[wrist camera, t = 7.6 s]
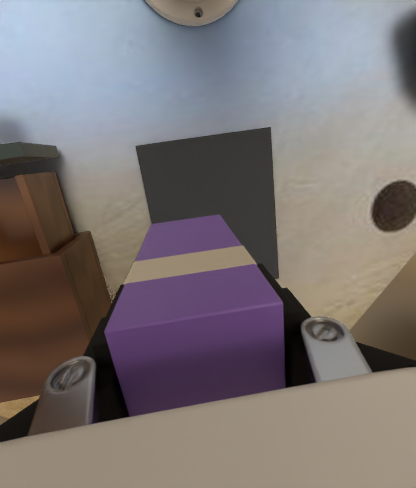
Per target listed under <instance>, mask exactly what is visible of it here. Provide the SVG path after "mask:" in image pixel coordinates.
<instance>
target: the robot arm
mask: <svg viewBox="0 0 416 488" xmlns="http://www.w3.org/2000/svg"><path fill="white" fill-rule="evenodd" d="M145 1H146V2H147V3H148V4H149V5H150V6H151V7H152V8H153V9H154V10H155V11H156V12H157V13H158V14H160V15H161V16H163V17H164V18H166V19H167V20H170V21H172V22H175V23H177V24H180V25H186V26H202V25H206V24H209V23H212V22H214V21H216V20H218V19H220V18H221V17H223V16H224V15H225V14H226V13H228V12H229V11H230V10H231V9H232V8H233V7H234V5H235V4H236V3H237V1H238V0H145ZM196 14H199V15H200V17H196ZM257 267H258V268H259V270H260V271H261V272H262V274H263V275H264V277H265V278H266V279H267V281H268V282H269V284H270V285H271V286H272V288H273V289H274V290H275V292H276V293H277V295H278V296H279V297H280V299H281V300H282V302H283V318H284V349H285V380H286V388H283V389H278V390H272V391H267V392H262V393H256V394H251V395H245V396H240V397H235V398H229V399H224V400H218V401H213V402H208V403H202V404H197V405H191V406H186V407H181V408H175V409H170V410H164V411H159V412H154V413H148V414H143V415H137V416H132V417H129V414H128V410H127V407H126V404H125V400H124V397H123V394H122V390H121V387H120V384H119V380H118V377H117V373H116V370H115V367H114V363H113V360H112V357H111V353H110V350H109V346H108V343H107V340H106V336H105V333H104V331H105V328H106V326H107V324H108V321H109V319H110V317H111V314H112V312H113V310H114V308H115V305H116V303H117V301H118V299H119V296H120V294H121V292H122V289H123V287H124V284H123V285H120V287H119V289H118V291H117V294H116V296H115V298H114V300H113V302H112V304H111V306H110V309H109V311H108V313H107V315H106V317H103V318H102V319H101V320H100V322H99V324H98V326H97V328H96V330H95V332H94V334H93V336H92V338H91V340H90V342H89V344H88V346H87V348H86V350H85V352H84V354H83V356H80V357H75V358H72V359H70V360H67V361H65V362H63V363H62V364H60V365H58V366H57V367H56V368H55V369H53V370H52V371H51V372H50V374H49V375H48V376H47V378H46V380H45V382H44V384H43V388H42V391H41V394H40V397H39V399H38V400H37V401H35V402H34V403H32V404H31V405H29V406H28V407H26V408H25V409H23V410H22V411H20V412H19V413H18V414H16V415H15V416H13V417H12V418H10V419H9V420H7V421H6V422H4V423H3V424H2V425H0V488H416V361H415V360H412V359H409V358H406V357H403V356H399V355H396V354H393V353H390V352H387V351H383V350H380V349H377V348H374V347H371V346H367V345H364V344H361V343H358V342H355V341H354V339H353V337H352V335H351V333H350V332H349V330H348V328H347V327H346V326H345V325H344V324H342V323H341V322H339V321H337V320H335V319H332V318H328V317H320V316H318V317H311V316H310V315H309V313H308V312H307V311H306V310H305V309H304V307H303V306H302V305H301V304H300V303H299V301H298V300H297V299H296V298H295V297H294V295H293V294H292V293H291V292H290V291H289V289H287V288H281V287H280V285H279V284H278V283H277V282H276V280H275V279H274V278H273V277H272V275H271V274H270V273H269V271H268V270H267V269H266V268H265V266H264V265H263V264H262V263H259V264H257Z"/></svg>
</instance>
